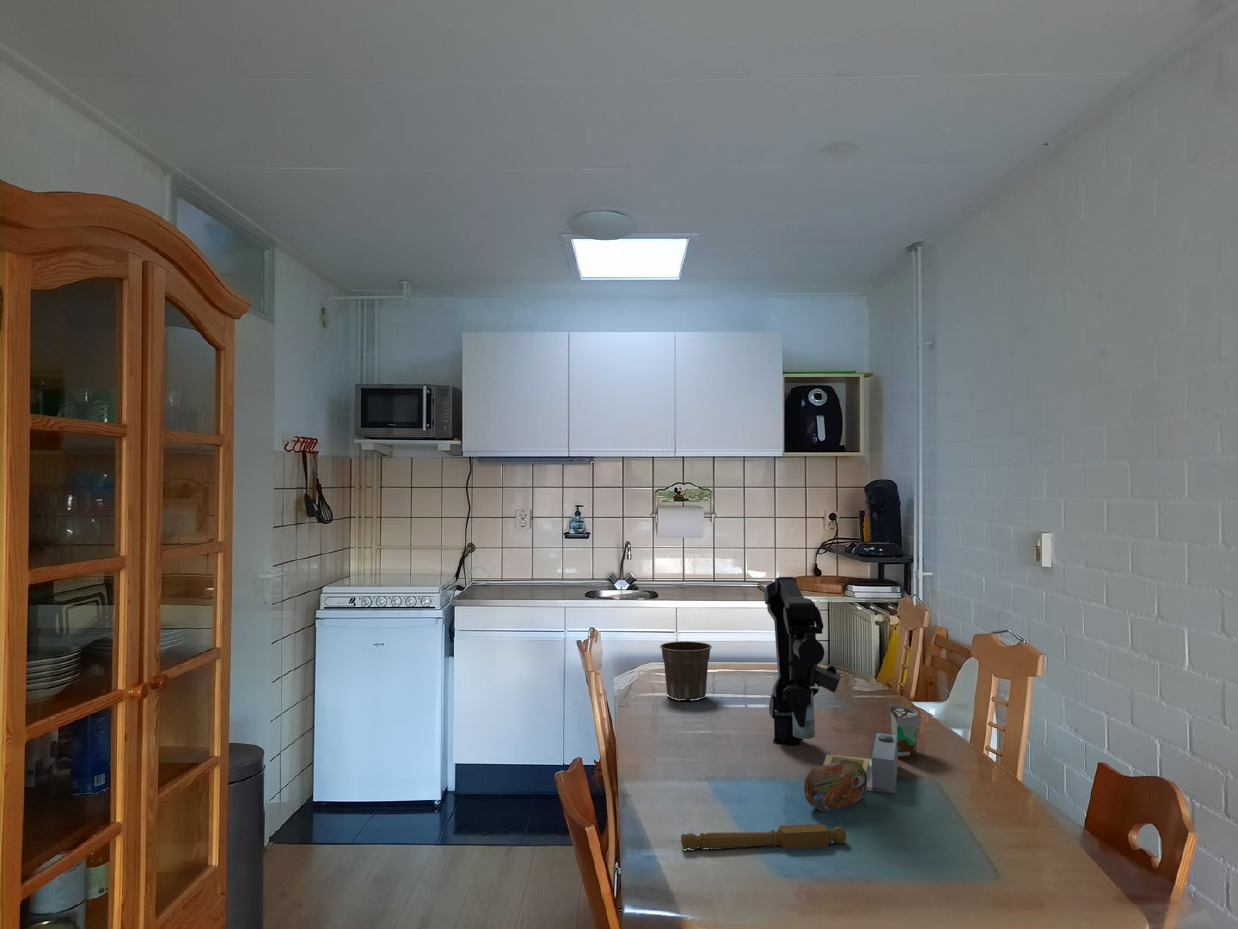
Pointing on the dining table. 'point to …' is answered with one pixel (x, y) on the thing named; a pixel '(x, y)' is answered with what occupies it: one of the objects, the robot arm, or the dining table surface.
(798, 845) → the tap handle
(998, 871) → the dining table surface
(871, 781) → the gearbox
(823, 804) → the tin
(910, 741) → the food container
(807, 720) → the spout can
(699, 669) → the plant pot
